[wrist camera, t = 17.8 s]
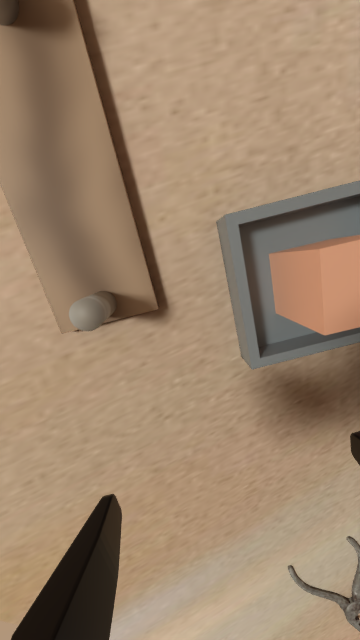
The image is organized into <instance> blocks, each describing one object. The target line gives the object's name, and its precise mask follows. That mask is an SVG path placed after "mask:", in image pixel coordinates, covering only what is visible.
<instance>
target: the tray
mask: <svg viewBox="0 0 360 640" xmlns="http://www.w3.org/2000/svg"><path fill="white" fill-rule="evenodd" d="M217 227H218V233H219V238H220V244H221V249H222V254H223V260H224V265H225V270H226V276H227V281H228V287H229V292H230V297H231V303H232V308H233V313H234V319H235V324H236V330H237V335H238V340H239V346H240V351H241V356H242V358H243V359H244V360H245V362H246V363H247V364H248V365H249V367H250V368H251V369H256V368H260V367H264V366H268V365H272V364H276V363H280V362H284V361H287V360H291V359H295V358H299V357H303V356H307V355H311V354H315V353H319V352H323V351H327V350H331V349H335V348H339V347H343V346H347V345H351V344H354V343H358V342H360V327H358V328H354V329H350V330H346V331H342V332H337V333H333V334H329V335H322V334H320V333H318V332H316V331H314V330H311V329H309V328H307V327H305V326H303V325H300V324H298V323H296V322H294V321H292V320H290V319H287V318H285V317H283V316H281V315H279V314H276V311H275V303H274V294H273V286H272V277H271V269H270V260H269V254H270V253H274V252H278V251H282V250H287V249H291V248H295V247H299V246H303V245H307V244H312V243H316V242H320V241H324V240H328V239H335V238H341V237H348V236H355V235H360V181H356V182H352V183H348V184H344V185H340V186H336V187H332V188H328V189H325V190H321V191H317V192H313V193H309V194H305V195H301V196H297V197H293V198H289V199H285V200H281V201H277V202H274V203H270V204H266V205H262V206H258V207H254V208H250V209H246V210H242V211H238V212H234V213H230V214H226V215H224V216H223V217H222V218H220V219H219V220H218V221H217Z"/></svg>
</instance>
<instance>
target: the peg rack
mask: <svg viewBox="0 0 360 640" xmlns="http://www.w3.org/2000/svg"><path fill="white" fill-rule="evenodd" d="M0 185H1V187H2V190H3V192H4V195H5V197H6V199H7V202H8V204H9V207H10V209H11V212H12V214H13V217H14V219H15V221H16V224H17V226H18V229H19V231H20V234H21V236H22V238H23V241H24V243H25V246H26V248H27V251H28V253H29V256H30V258H31V260H32V263H33V265H34V268H35V270H36V273H37V275H38V277H39V280H40V282H41V285H42V287H43V290H44V292H45V295H46V297H47V299H48V302H49V304H50V307H51V309H52V312H53V314H54V316H55V319H56V321H57V324H58V326H59V329H60V331H61V334H63V333H67V332H71V331H75V330H79V329H80V330H82V331H92V330H95V329H96V328H98V327H99V326H100V325H101V324H103V323H106V322H110V321H114V320H118V319H122V318H126V317H130V316H134V315H138V314H142V313H146V312H150V311H154V310H158V309H159V305H158V302H157V298H156V295H155V291H154V287H153V284H152V280H151V277H150V273H149V269H148V266H147V262H146V258H145V255H144V251H143V248H142V244H141V240H140V237H139V233H138V230H137V226H136V222H135V219H134V215H133V211H132V208H131V204H130V201H129V197H128V193H127V190H126V186H125V183H124V179H123V175H122V172H121V168H120V164H119V161H118V157H117V154H116V150H115V146H114V143H113V139H112V136H111V132H110V128H109V125H108V121H107V117H106V114H105V110H104V107H103V103H102V99H101V96H100V92H99V89H98V85H97V81H96V78H95V74H94V70H93V67H92V63H91V60H90V56H89V52H88V49H87V45H86V42H85V38H84V34H83V31H82V27H81V23H80V20H79V16H78V13H77V9H76V5H75V2H74V0H0Z"/></svg>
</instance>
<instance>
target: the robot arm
mask: <svg viewBox="0 0 360 640" xmlns="http://www.w3.org/2000/svg"><path fill="white" fill-rule="evenodd" d="M350 441H351V452H352V455H353V457H354V458H355V460H356V461H357V462H358V464H359V465H360V431H359V432H355V433H352V434H351V435H350ZM121 522H122V511H121V508H120V506H119V503H118V501H117V499H116V496H115V495H114V494H110V495H106V496H103V497H102V498H101V500H100V501H99V503H98V504H97V506H96V507H95V509H94V510H93V512H92V514H91V515H90V517H89V518H88V520H87V521H86V523H85V524H84V526H83V527H82V529H81V530H80V532H79V534H78V535H77V537H76V538H75V540H74V541H73V543H72V544H71V546H70V547H69V549H68V550H67V552H66V554H65V555H64V557H63V558H62V560H61V561H60V563H59V564H58V566H57V567H56V569H55V570H54V572H53V574H52V575H51V577H50V578H49V580H48V581H47V583H46V584H45V586H44V587H43V589H42V591H41V592H40V594H39V595H38V597H37V598H36V600H35V601H34V603H33V604H32V606H31V607H30V609H29V611H28V612H27V614H26V615H25V617H24V618H23V620H22V621H21V623H20V624H19V626H18V627H17V629H16V631H15V632H14V634H13V635H12V638H11V640H109V637H110V630H111V623H112V616H113V609H114V601H115V594H116V587H117V579H118V570H119V555H120V539H121Z"/></svg>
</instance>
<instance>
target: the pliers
mask: <svg viewBox="0 0 360 640" xmlns="http://www.w3.org/2000/svg"><path fill="white" fill-rule="evenodd" d="M347 540H348V542H349V543H350V544H351V545H352V546H353V547H354V548H355V550H356V552H357V555H358V567H357V571H356V574H355V578H354V581H353V585H352V597H351V598H346V597H344V596H342V595H339V594H337V593H334V592H330V591H326V590H322V589H318V588H315V587H312V586H309V585H307V584H305V583H304V582H303V581H301V580H300V579H299V578H298V577H297V575H296V574H295V572H294V569H293V567H292V566H291V565H289V566H288V570H289V572H290V575H291V577H292V578H293V580H294V581H295V582H296V584H297V585H298V586H300V587H301V588H302V589H303V590H305V591H307V592H308V593H311V594H313V595H316V596H319V597H322V598H326V599H329V600H332V601H334V602H336V603H337V604H339V605H340V607H341V609H342V610H343V611H344V613H345V616H346V619H347V621H348V622H349V623H350V624H351V625H352V626H354V627H355V628H356V629H357V630H358V631H360V620H359V618H358V614H359V613H360V546H359V545H358V544H357V542H356V541H355V540H354V539H353V538H351V537H350V536H349V537H347Z"/></svg>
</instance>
